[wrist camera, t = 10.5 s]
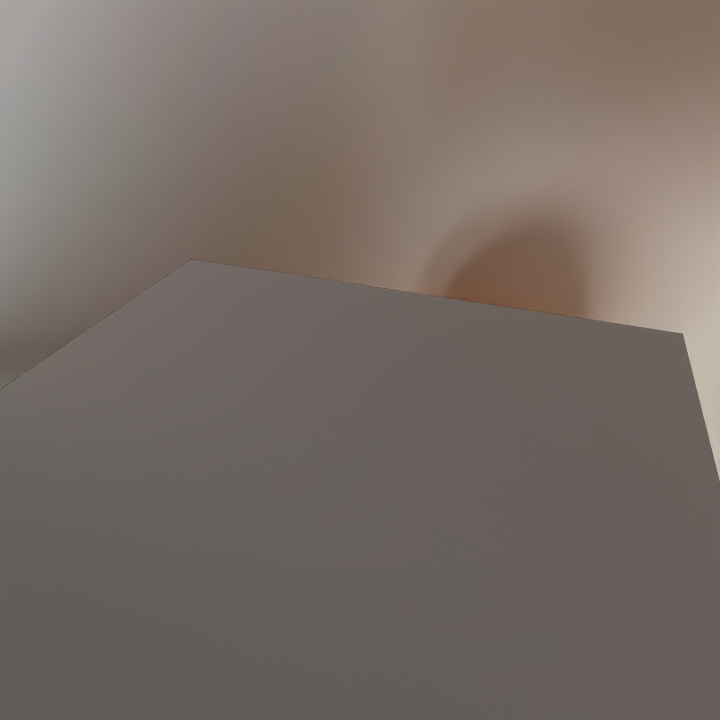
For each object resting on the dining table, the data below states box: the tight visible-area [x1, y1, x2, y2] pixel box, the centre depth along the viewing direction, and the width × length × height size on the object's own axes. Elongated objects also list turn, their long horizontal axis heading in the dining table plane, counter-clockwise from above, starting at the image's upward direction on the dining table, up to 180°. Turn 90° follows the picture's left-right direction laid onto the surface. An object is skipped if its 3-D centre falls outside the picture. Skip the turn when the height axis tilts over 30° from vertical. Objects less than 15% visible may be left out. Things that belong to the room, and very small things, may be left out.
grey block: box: [0, 259, 720, 720], centre depth 8 cm, size 8×8×9 cm
